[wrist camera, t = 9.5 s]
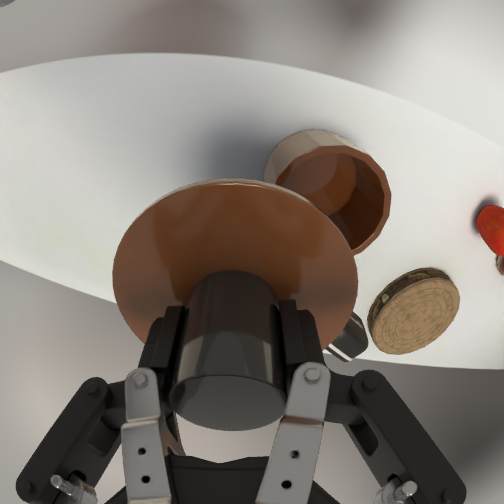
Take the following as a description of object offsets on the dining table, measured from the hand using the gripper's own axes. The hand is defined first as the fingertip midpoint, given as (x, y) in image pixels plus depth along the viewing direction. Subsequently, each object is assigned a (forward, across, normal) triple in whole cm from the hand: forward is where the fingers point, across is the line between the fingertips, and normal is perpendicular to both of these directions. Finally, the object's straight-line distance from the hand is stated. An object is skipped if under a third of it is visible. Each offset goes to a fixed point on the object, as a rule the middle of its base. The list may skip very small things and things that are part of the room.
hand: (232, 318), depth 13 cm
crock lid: (+1, 0, 0) cm, 1 cm away
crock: (+22, -8, +1) cm, 23 cm away
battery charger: (+22, -10, +16) cm, 29 cm away
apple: (+22, -35, +7) cm, 42 cm away
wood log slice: (+22, -25, +23) cm, 41 cm away
